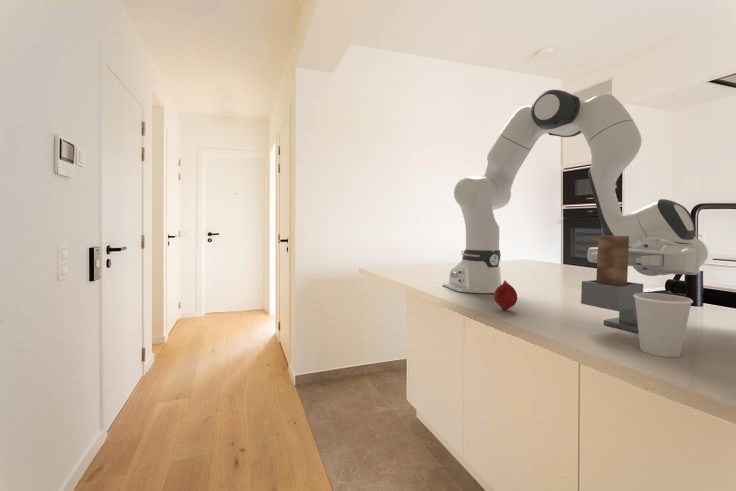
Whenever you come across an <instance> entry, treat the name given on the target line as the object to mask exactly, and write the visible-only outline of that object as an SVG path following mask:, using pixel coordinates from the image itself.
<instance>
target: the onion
mask: <svg viewBox="0 0 736 491" xmlns="http://www.w3.org/2000/svg"><path fill="white" fill-rule="evenodd" d="M493 299H494V302H495V303H496V304H497V305H498V306H499V307H500V308H501V310H503V311H507V310H509V309H510V308H512V307H514V306H515V305H516V303H517V301H518V293H517V291H516V290H515V288H514V287H513V286H512V285H511V284H509V283H508V282H507V280H505V279H504V280H503V282H502V285H500V286H499V287H498V288H497V289H496V291H495V293H493Z"/></svg>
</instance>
